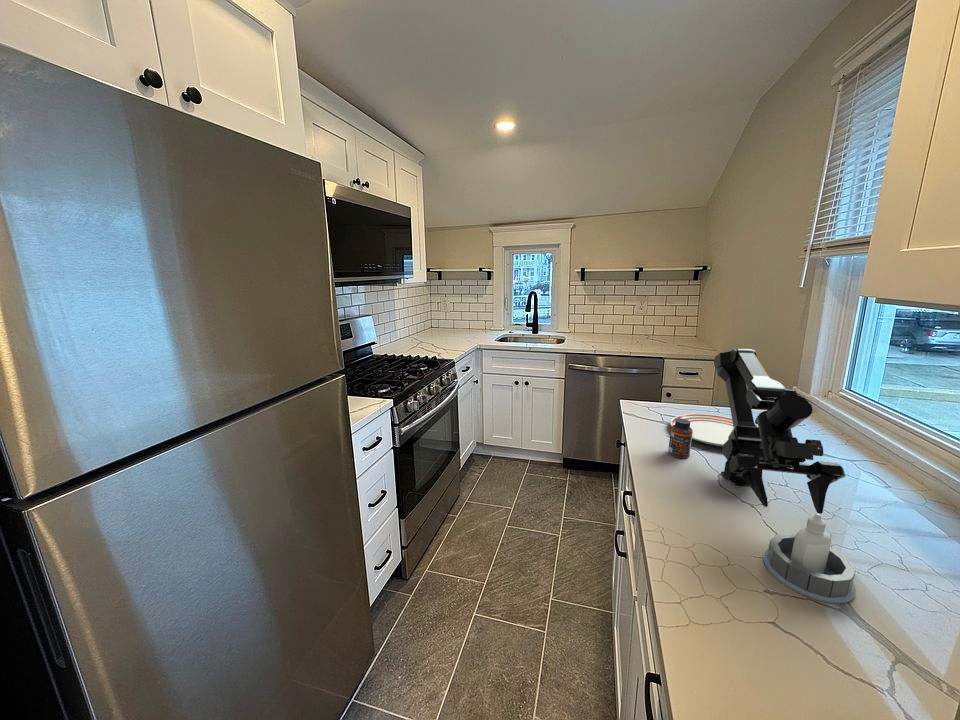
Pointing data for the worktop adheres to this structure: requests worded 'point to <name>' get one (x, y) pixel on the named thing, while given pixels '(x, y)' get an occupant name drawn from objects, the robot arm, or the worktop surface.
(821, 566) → the eye dropper bottle
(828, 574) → the grey segmented round bowl
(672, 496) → the worktop surface
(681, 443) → the supplement bottle
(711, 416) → the dinner plate
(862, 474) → the worktop surface
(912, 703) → the worktop surface
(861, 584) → the worktop surface
